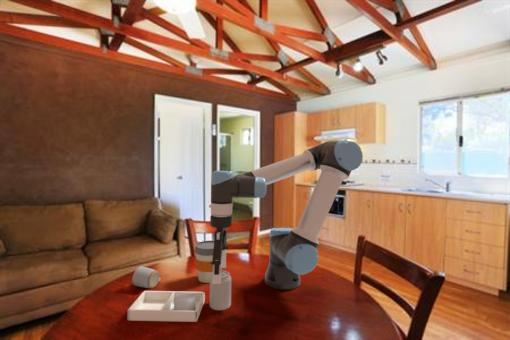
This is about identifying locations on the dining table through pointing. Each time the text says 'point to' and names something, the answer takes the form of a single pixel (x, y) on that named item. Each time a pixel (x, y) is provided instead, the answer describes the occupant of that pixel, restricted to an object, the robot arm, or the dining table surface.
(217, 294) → the can
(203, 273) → the reusable coffee cup
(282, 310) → the dining table surface
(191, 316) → the caddy
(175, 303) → the white dome
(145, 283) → the ceramic mug
